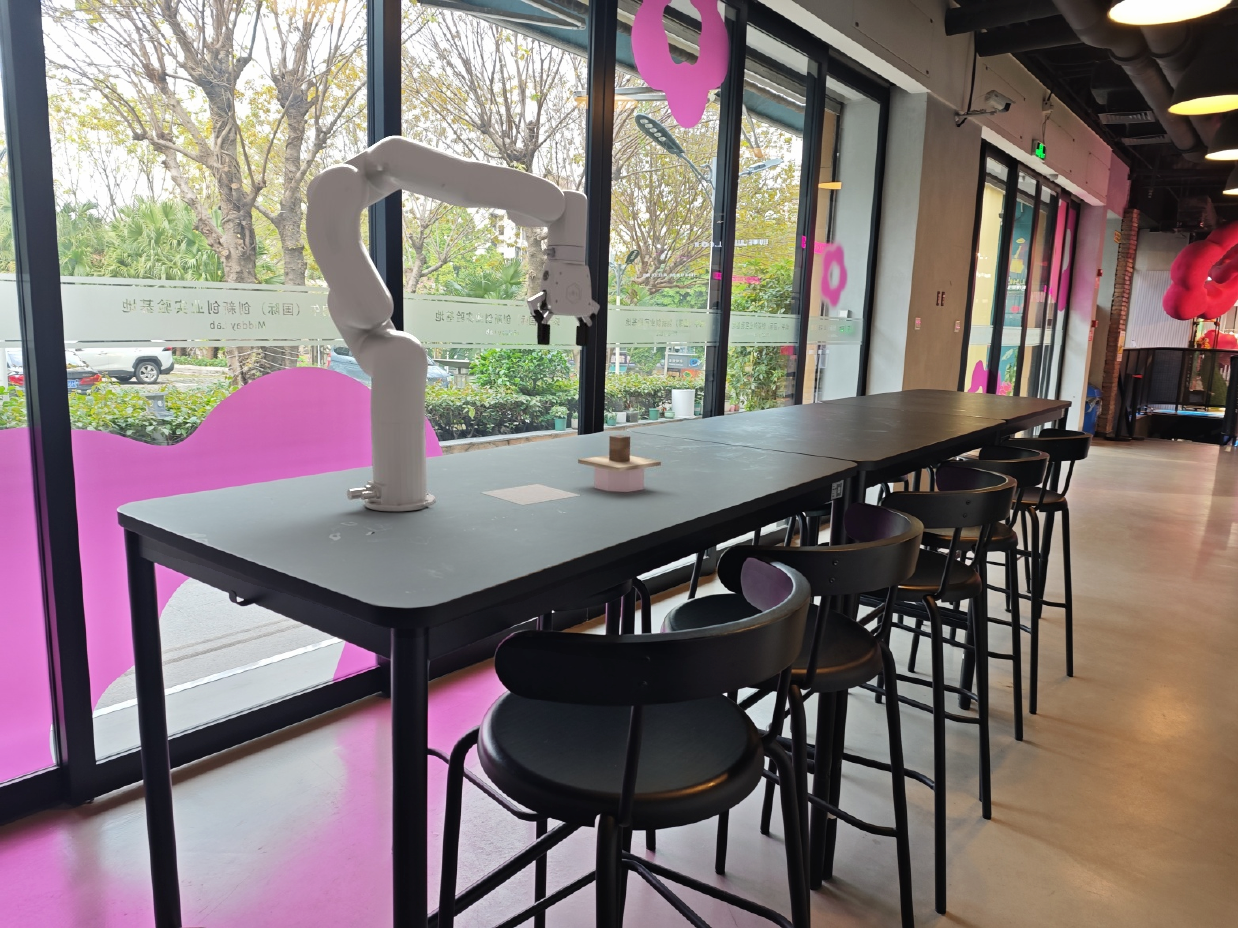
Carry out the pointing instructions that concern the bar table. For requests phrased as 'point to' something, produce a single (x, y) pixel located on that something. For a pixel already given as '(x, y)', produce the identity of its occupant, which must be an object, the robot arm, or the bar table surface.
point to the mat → (530, 494)
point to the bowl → (619, 480)
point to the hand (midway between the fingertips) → (562, 345)
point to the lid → (619, 457)
